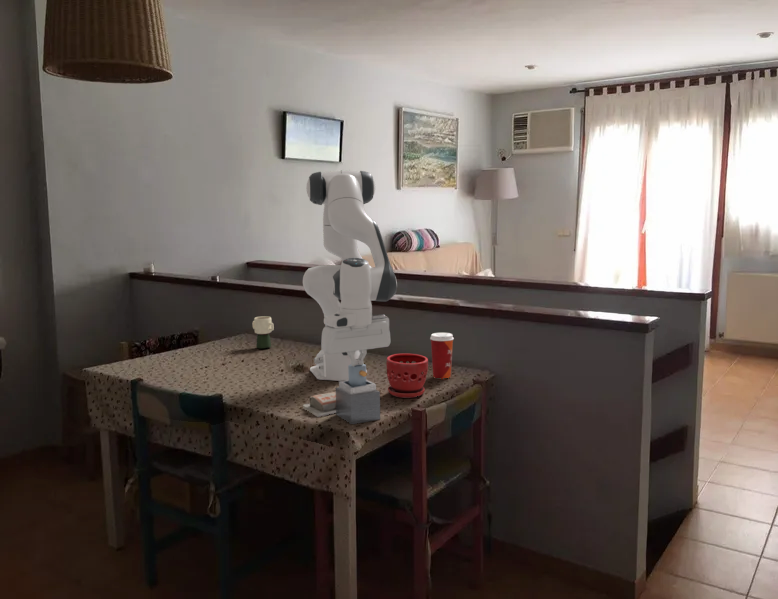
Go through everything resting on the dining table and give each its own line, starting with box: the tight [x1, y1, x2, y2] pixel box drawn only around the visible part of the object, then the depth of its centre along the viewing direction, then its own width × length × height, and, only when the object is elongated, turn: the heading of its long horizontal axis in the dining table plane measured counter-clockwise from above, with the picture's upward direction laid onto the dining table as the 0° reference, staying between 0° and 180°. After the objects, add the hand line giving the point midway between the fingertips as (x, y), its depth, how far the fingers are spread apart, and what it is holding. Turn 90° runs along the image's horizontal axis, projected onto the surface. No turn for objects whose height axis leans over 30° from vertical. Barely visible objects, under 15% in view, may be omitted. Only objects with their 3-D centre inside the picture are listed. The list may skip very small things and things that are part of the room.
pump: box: [348, 363, 368, 387], centre depth 189 cm, size 7×5×7 cm
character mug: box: [251, 315, 275, 349], centre depth 281 cm, size 11×7×13 cm, turn 62°
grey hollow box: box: [335, 378, 381, 425], centre depth 191 cm, size 10×9×10 cm
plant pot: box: [386, 353, 429, 399], centre depth 212 cm, size 13×13×12 cm
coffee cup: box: [429, 332, 455, 380], centre depth 232 cm, size 8×8×15 cm
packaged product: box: [302, 391, 336, 418], centre depth 200 cm, size 18×5×10 cm
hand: (357, 365), depth 189 cm, fingers closed, pressing on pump
